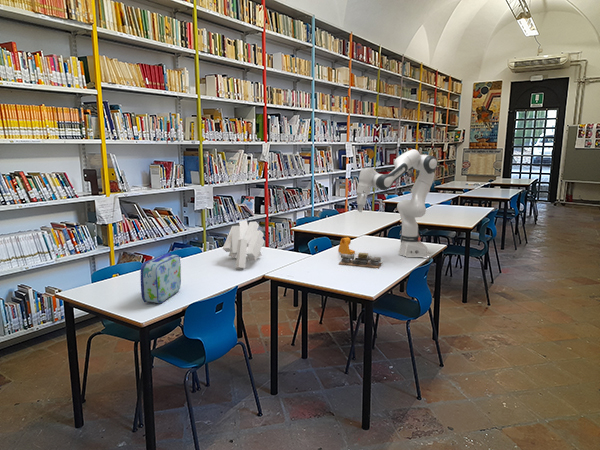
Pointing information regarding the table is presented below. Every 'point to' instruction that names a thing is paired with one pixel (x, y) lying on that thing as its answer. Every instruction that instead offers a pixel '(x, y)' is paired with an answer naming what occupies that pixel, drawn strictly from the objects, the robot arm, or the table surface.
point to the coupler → (362, 255)
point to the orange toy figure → (345, 246)
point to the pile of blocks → (244, 242)
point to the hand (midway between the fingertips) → (359, 211)
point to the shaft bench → (360, 261)
